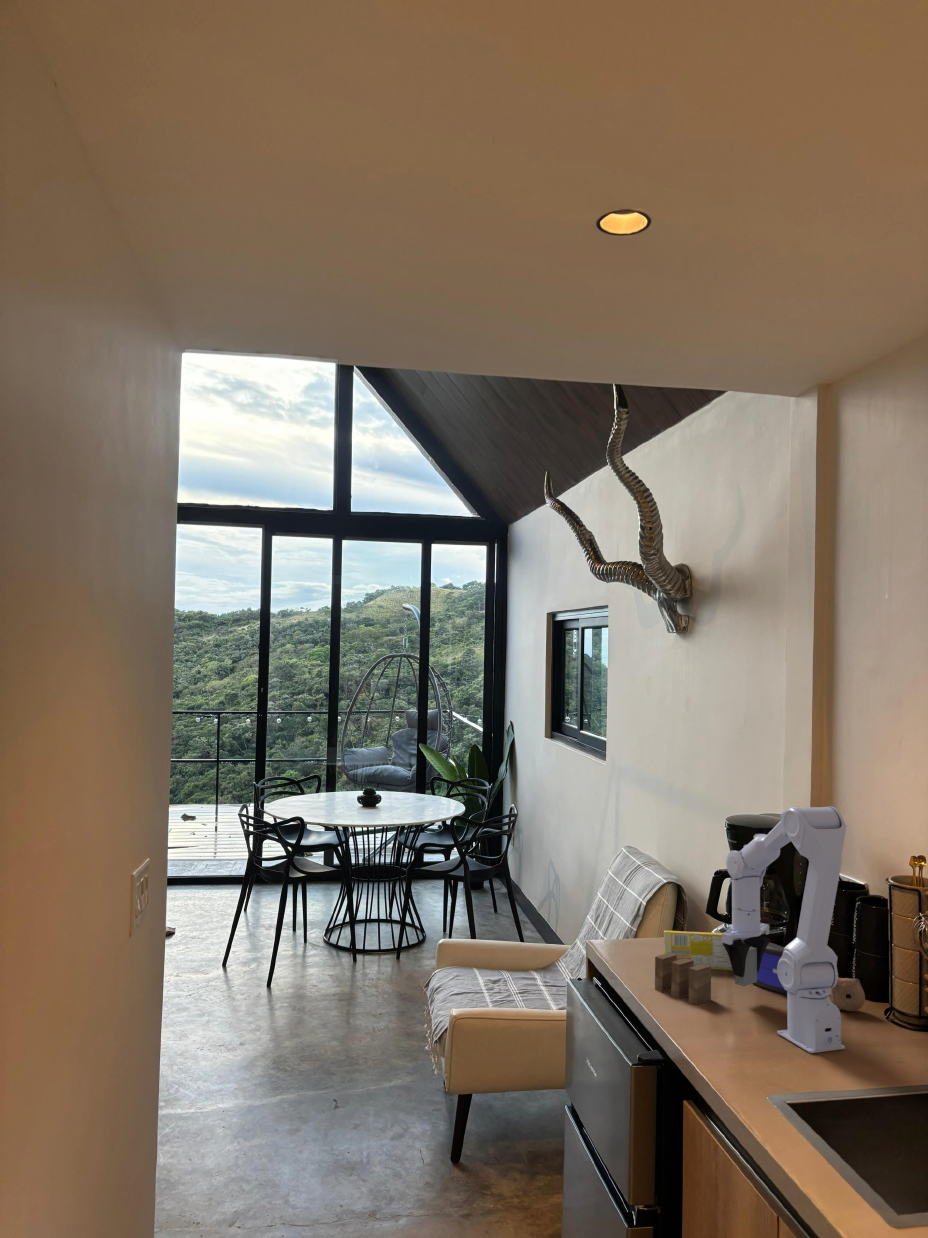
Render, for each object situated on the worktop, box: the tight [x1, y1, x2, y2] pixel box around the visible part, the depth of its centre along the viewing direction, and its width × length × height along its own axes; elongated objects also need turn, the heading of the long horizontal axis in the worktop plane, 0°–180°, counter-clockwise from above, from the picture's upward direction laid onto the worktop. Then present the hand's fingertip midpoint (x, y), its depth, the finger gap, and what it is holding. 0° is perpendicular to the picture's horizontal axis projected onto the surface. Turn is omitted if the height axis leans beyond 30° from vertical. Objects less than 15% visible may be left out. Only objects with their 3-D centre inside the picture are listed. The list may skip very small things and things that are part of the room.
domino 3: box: [688, 964, 712, 1006], centre depth 181 cm, size 2×5×7 cm, turn 128°
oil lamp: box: [831, 977, 866, 1012], centre depth 177 cm, size 9×4×8 cm, turn 80°
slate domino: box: [734, 946, 757, 987], centre depth 181 cm, size 2×5×7 cm, turn 128°
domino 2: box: [670, 958, 694, 999], centre depth 184 cm, size 2×5×7 cm, turn 128°
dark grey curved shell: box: [742, 940, 787, 995], centre depth 191 cm, size 16×5×9 cm, turn 27°
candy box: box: [663, 930, 733, 972], centre depth 202 cm, size 16×2×8 cm, turn 84°
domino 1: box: [654, 953, 677, 993], centre depth 188 cm, size 2×5×7 cm, turn 128°
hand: (746, 973), depth 181 cm, fingers closed on slate domino, 5 cm apart
